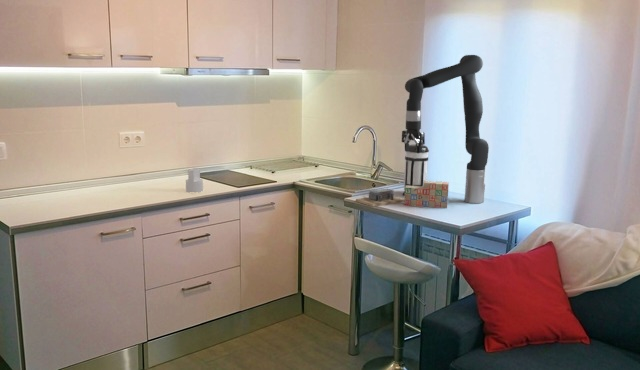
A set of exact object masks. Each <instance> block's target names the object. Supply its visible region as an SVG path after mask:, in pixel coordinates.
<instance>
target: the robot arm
mask: <svg viewBox="0 0 640 370" xmlns="http://www.w3.org/2000/svg"><path fill="white" fill-rule="evenodd" d="M483 65H484V61H483V59H482V58H481V57H480V56H479V55H477V54H465V55H464V56H462V57H461V58H460V60H459V62H458V63H455V64H453V65H451V66H445V67H442V68H439V69H436V70H433V71H430V72H428V73H426V74H422V75H418V76H416V77H412V78H409V79H408V80H407V81H406V82H405V84H404V89H405V91H406V92H407V93H409V94H408V99H407V100H406V112H405V130H402V131H401V143H403V144H404V151H406V152H407V151H409V145H410V142H411V141H414V142H416V143H415V144H417V153H421V146H422V145H425V144H426V139H425V136H426V135H425V132H424V131H423V132H420V130H421V129H422V111H421V110H422V107H421V105H422V99H423V93H424V89H429V88H433V87H435V86H438V85H441V84H444V83H445V82H449V81H451V80H453V79H457V78H458V77H461V85H462V97H463V98H462V99H463V113H464V123H465V140H464V141H465V150H466V153H468V155H470V161H469V162H467V163H466V170H465V171H466V173H465V175H466V176H465V188H464V202H466V203H470V204H482V203H484V201H485V191H486V188H485V187H486V184H485V177H486V176H485V172H486V166H487V164H488V161H489V158H488V157H489V149H490V147H489V143H488V142H487V140H485V139H484V138H481V136H480V124H481V121H482V116H483V115H484V114H483V112H484V108H483V98H482V95H481V92H480V89H479V87H478V85H477V81H476V80H477V79H476V78H477V77H476V74H477V73H479V72H480V71H481V70H482V68H483ZM418 142H419V143H418ZM406 152H405V153H406Z"/></svg>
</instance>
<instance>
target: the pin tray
mask: <svg viewBox="0 0 640 370" xmlns="http://www.w3.org/2000/svg"><path fill="white" fill-rule="evenodd" d="M394 194H395V193H393V194H391V199H389V200H382V196H381V195H379V201H372V200H369V196H367V197H360V198H359V197H358V198H355V202H357V201H358V202H357V203H359V204H364V205H367V206H370V207H379V206H385V205H386V206H387V205H393V204H399V203H404V200H405V199H404V198H401V197H398V196H395V195H394Z"/></svg>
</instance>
